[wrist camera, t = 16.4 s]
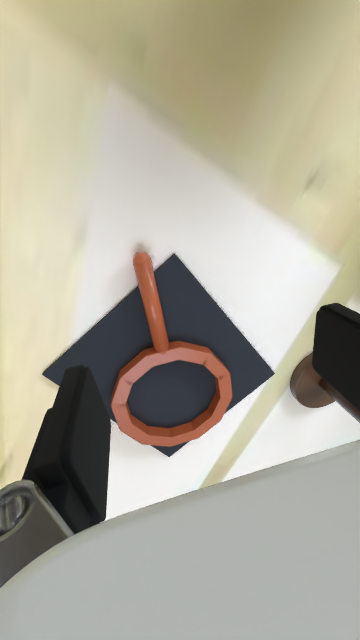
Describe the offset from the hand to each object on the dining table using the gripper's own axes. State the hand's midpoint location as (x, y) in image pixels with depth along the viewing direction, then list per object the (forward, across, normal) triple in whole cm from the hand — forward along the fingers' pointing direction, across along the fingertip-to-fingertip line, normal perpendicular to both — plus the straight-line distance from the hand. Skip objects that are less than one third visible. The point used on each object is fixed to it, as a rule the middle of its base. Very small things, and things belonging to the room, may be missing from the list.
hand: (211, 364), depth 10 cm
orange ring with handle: (+15, +2, +10) cm, 18 cm away
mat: (+16, +1, +12) cm, 20 cm away
